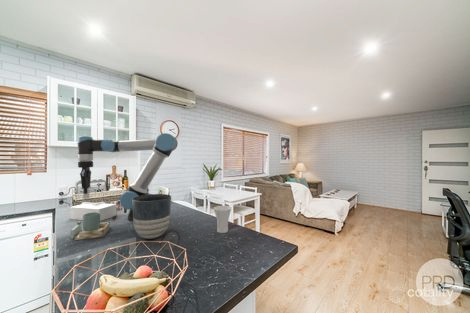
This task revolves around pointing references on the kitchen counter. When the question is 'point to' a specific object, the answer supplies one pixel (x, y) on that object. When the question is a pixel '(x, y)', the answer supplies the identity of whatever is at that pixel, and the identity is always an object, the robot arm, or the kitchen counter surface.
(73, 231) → the gate
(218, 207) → the cup
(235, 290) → the kitchen counter surface
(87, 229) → the cup
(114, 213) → the tissue box
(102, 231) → the tray
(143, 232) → the planter
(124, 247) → the kitchen counter surface
